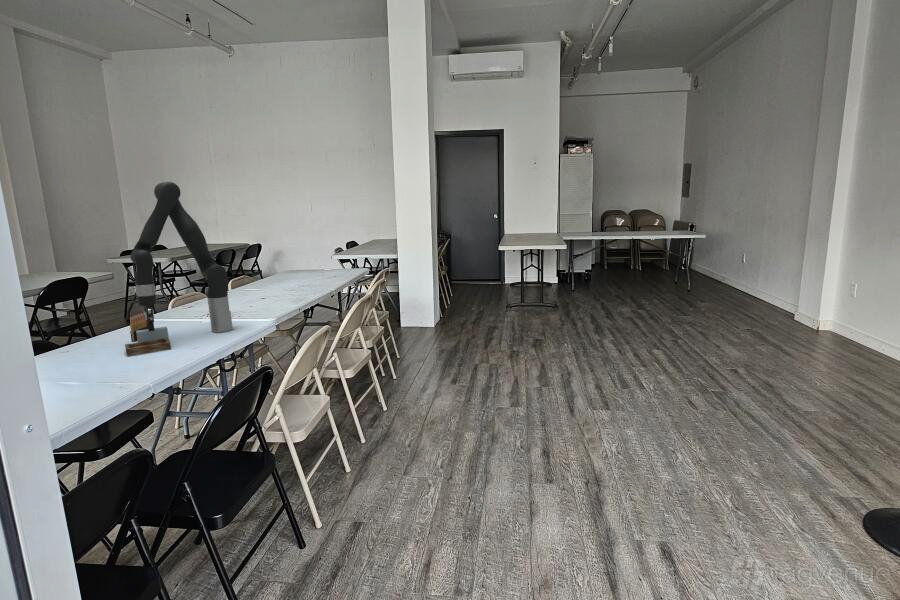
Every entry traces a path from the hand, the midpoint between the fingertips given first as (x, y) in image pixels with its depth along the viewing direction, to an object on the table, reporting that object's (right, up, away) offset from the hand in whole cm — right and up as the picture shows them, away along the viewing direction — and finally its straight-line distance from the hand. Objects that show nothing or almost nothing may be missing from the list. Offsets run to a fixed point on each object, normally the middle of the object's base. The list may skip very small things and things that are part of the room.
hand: (150, 329), depth 231 cm
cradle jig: (+4, -9, -9) cm, 13 cm away
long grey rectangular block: (+1, -7, +2) cm, 7 cm away
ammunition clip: (-11, -5, +12) cm, 17 cm away
